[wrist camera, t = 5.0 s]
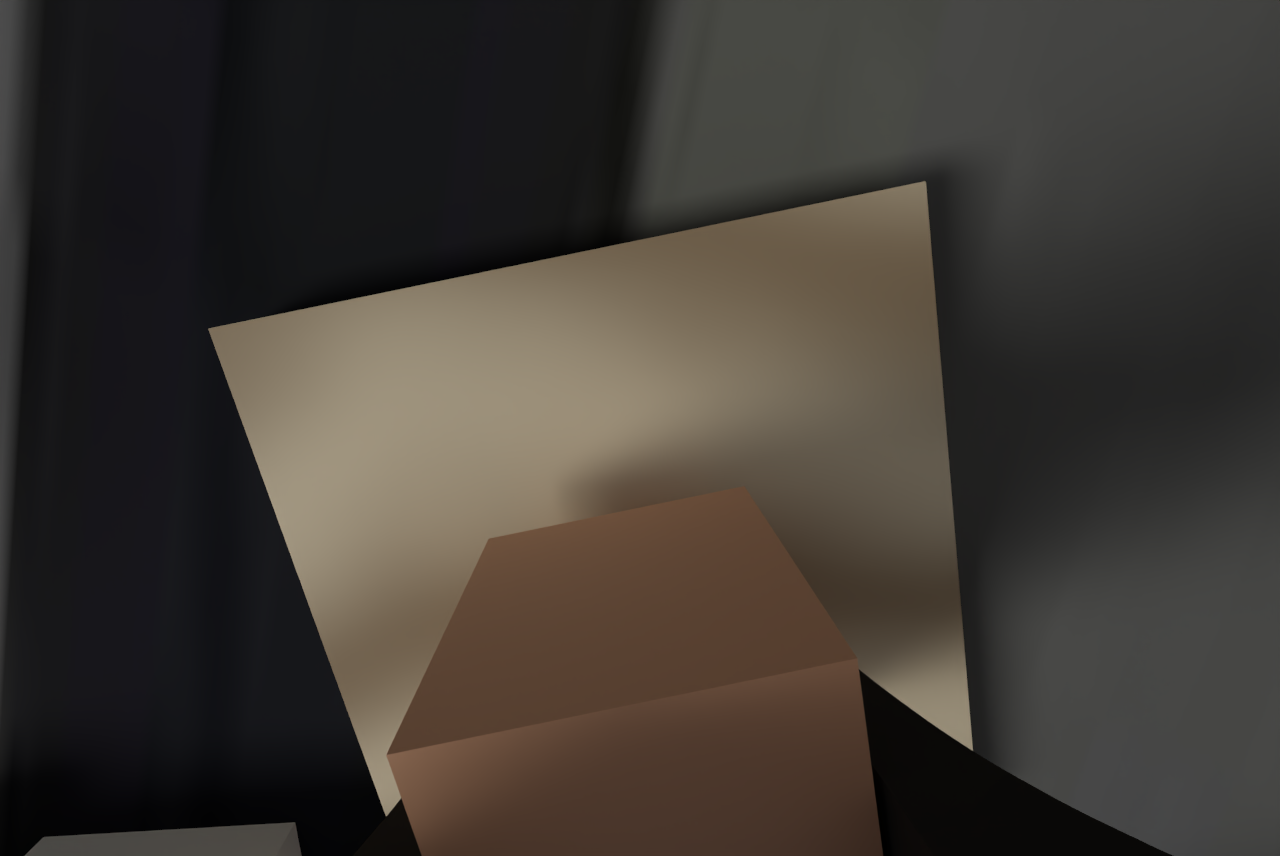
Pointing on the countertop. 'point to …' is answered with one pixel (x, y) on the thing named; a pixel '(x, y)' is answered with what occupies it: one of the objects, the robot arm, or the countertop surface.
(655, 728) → the terracotta block
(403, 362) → the birch board
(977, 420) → the countertop surface
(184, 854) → the offwhite block
